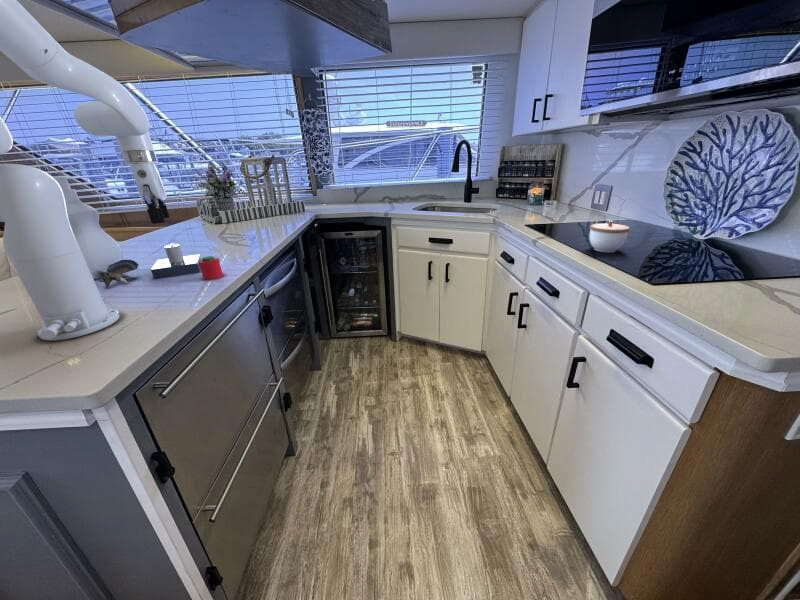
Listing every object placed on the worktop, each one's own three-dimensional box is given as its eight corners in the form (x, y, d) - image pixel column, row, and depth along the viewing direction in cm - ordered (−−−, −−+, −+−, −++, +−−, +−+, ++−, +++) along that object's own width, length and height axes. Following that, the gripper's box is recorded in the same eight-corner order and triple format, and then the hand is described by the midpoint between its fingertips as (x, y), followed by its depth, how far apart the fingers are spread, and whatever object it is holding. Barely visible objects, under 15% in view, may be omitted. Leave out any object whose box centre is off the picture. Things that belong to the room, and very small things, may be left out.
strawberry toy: (222, 277, 94) (217, 258, 92) (202, 281, 92) (196, 260, 90) (223, 273, 99) (217, 254, 96) (203, 276, 97) (198, 256, 94)
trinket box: (631, 253, 100) (639, 223, 97) (596, 254, 101) (603, 224, 97) (611, 245, 110) (618, 217, 106) (580, 246, 111) (585, 219, 107)
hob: (199, 272, 100) (196, 262, 99) (154, 279, 96) (150, 269, 94) (202, 262, 110) (199, 253, 109) (160, 268, 106) (157, 259, 104)
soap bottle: (99, 283, 94) (53, 176, 83) (59, 285, 94) (6, 178, 82) (139, 266, 110) (104, 174, 98) (104, 268, 109) (65, 175, 98)
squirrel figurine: (123, 284, 89) (146, 268, 96) (97, 265, 86) (124, 250, 93) (110, 297, 91) (134, 280, 99) (85, 279, 88) (112, 263, 96)
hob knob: (183, 261, 101) (178, 245, 99) (168, 263, 99) (162, 247, 97) (184, 258, 104) (179, 242, 102) (170, 260, 103) (164, 244, 101)
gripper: (150, 157, 84) (172, 223, 91) (161, 158, 98) (179, 215, 105) (115, 158, 81) (140, 226, 88) (131, 159, 95) (151, 217, 102)
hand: (161, 220), depth 96 cm, fingers open, 9 cm apart
